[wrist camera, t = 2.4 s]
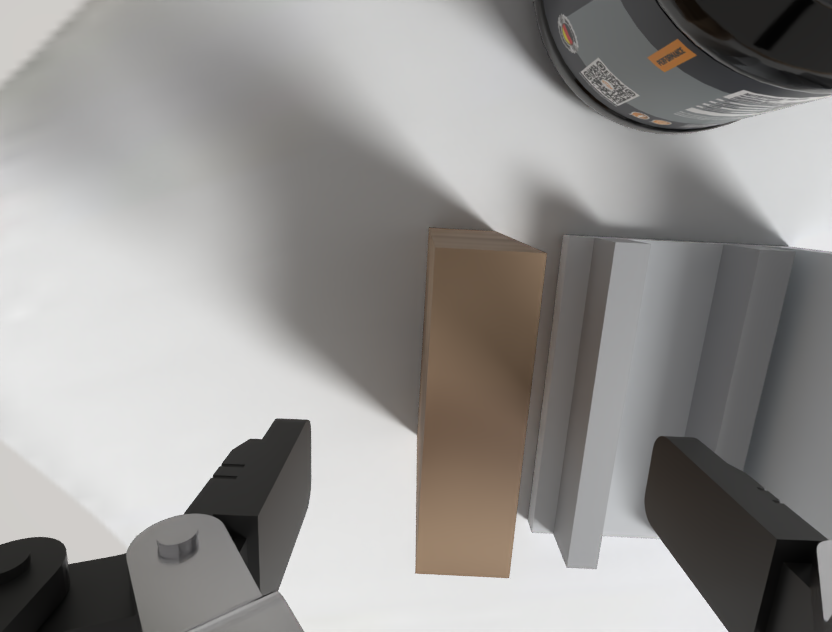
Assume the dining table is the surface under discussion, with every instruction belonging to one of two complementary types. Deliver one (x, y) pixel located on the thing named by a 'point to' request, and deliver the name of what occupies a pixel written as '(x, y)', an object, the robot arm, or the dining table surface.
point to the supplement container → (689, 58)
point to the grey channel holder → (681, 379)
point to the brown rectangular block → (474, 398)
